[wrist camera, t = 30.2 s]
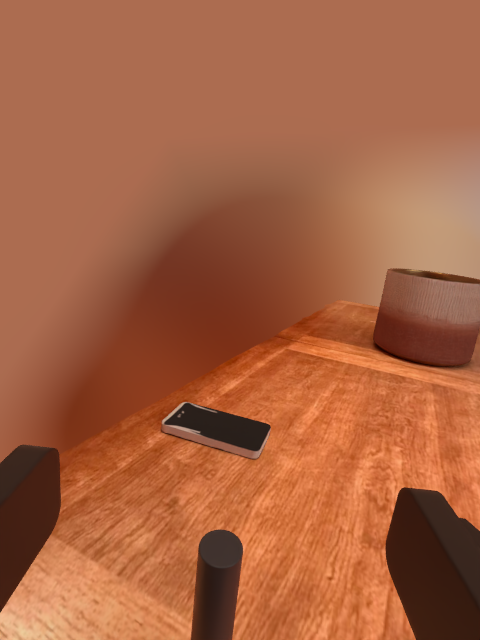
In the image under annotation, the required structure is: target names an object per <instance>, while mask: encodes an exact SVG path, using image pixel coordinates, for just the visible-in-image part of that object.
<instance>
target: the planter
mask: <svg viewBox="0 0 480 640" xmlns="http://www.w3.org/2000/svg"><path fill="white" fill-rule="evenodd" d="M479 328H480V280H479V279H474V278H469V277H464V276H458V275H451V274H445V273H437V272H430V271H421V270H411V269H388V271H387V275H386V280H385V285H384V289H383V294H382V299H381V303H380V307H379V312H378V316H377V321H376V325H375V330H374V336H373V340H374V342H375V343H376V344H377V345H378V346H379V347H380V348H382V349H383V350H385V351H386V352H388V353H390V354H393V355H395V356H398V357H400V358H403V359H407V360H410V361H414V362H418V363H423V364H428V365H435V366H459V365H463V364H466V363H468V362H469V361H470V360H471V357H472V355H473V351H474V347H475V344H476V340H477V336H478V332H479Z"/></svg>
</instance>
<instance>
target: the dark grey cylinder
mask: <svg viewBox="0 0 480 640" xmlns="http://www.w3.org/2000/svg"><path fill="white" fill-rule="evenodd" d="M242 555H243V546H242V543H241V541H240V539H239V538H238V537H237V536H236V535H235V534H233V533H232V532H229V531H226V530H214V531H211V532H209V533H207V534H206V535H205V536H204V537H203V538H202V539H201V541H200V544H199V550H198V562H197V574H196V585H195V597H194V609H193V620H192V632H191V640H232V635H233V627H234V619H235V611H236V603H237V595H238V587H239V579H240V571H241V563H242Z"/></svg>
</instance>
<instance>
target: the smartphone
mask: <svg viewBox="0 0 480 640" xmlns="http://www.w3.org/2000/svg"><path fill="white" fill-rule="evenodd" d="M270 428H271V427H270V425H268V424H266V423H262V422H259V421H255V420H251V419H247V418H244V417H240V416H236V415H233V414H229V413H225V412H222V411H218V410H214V409H211V408H207V407H203V406H199V405H196V404H192V403H188V402H183V403H181V404H180V405H179V406H178V407H177V408H176V409H175V410H174V411H172V412H171V413H170V414H169V415H168V416H167V417H166V418H165V419H164V420H163V421H162V427H161V430H162V431H163V432H165V433H168V434H171V435H175V436H178V437H181V438H185V439H188V440H191V441H194V442H198V443H201V444H204V445H208V446H211V447H214V448H218V449H221V450H224V451H227V452H231V453H234V454H237V455H241V456H244V457H247V458H250V459H257V458H259V456H260V454H261V452H262V450H263V448H264V445H265V443H266V441H267V439H268V437H269V435H270Z"/></svg>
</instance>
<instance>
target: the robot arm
mask: <svg viewBox="0 0 480 640" xmlns="http://www.w3.org/2000/svg"><path fill="white" fill-rule="evenodd" d="M60 506H61V494H60V463H59V453H58V450H57V449H55V448H49V447H48V448H47V447H39V446H30V445H20V446H18V447H17V448H16V449H15V450H14V451H13V452H12V453H11V454H10V455H9V456H7V457H6V458H5V459H4V460H3V461H2V462H1V463H0V612H1V611H2V609H3V608H4V606H5V604H6V603H7V601H8V600H9V598H10V597H11V595H12V594H13V592H14V591H15V589H16V587H17V586H18V584H19V583H20V581H21V580H22V578H23V577H24V575H25V573H26V572H27V570H28V569H29V567H30V566H31V564H32V563H33V561H34V559H35V558H36V556H37V555H38V553H39V552H40V550H41V549H42V547H43V545H44V544H45V542H46V541H47V539H48V538H49V536H50V535H51V533H52V531H53V529H54V527H55V525H56V522H57V519H58V516H59V512H60ZM386 559H387V565H388V569H389V572H390V575H391V577H392V580H393V582H394V585H395V587H396V590H397V592H398V595H399V597H400V600H401V602H402V605H403V607H404V610H405V613H406V615H407V618H408V620H409V623H410V625H411V628H412V630H413V633H414V635H415V638H416V640H480V531H479V530H478V529H476V528H475V527H474V526H473V525H472V524H471V523H469V522H468V521H467V520H466V519H463V518H458V516H457V515H456V514H455V512H454V511H453V509H452V508H451V506H450V505H449V504H448V502H447V501H446V499H445V498H444V496H443V495H442V494H441V493H440V492H438V491H432V490H423V489H414V488H402V489H401V490H400V492H399V494H398V497H397V501H396V505H395V509H394V513H393V516H392V520H391V524H390V528H389V532H388V535H387V540H386Z"/></svg>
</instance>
